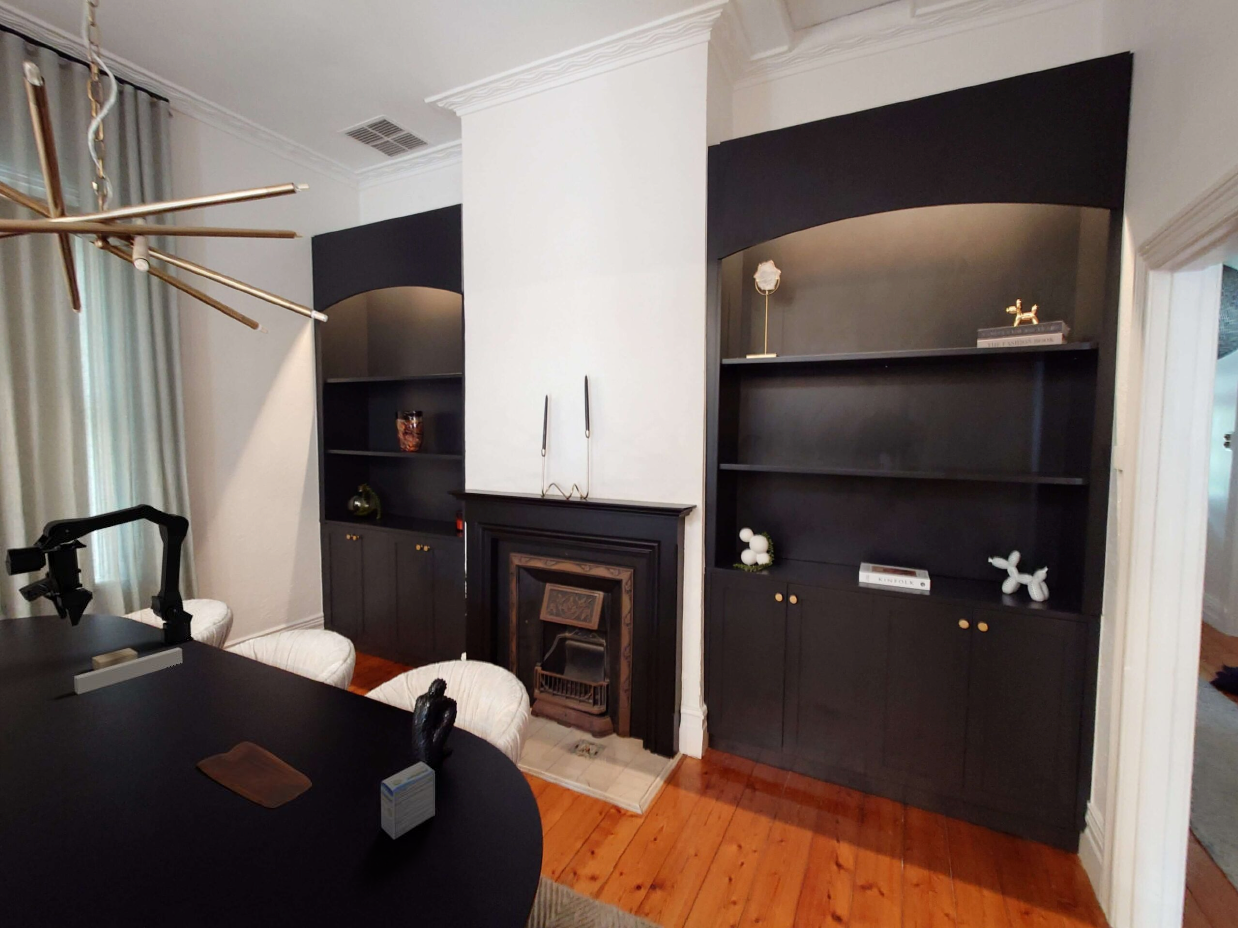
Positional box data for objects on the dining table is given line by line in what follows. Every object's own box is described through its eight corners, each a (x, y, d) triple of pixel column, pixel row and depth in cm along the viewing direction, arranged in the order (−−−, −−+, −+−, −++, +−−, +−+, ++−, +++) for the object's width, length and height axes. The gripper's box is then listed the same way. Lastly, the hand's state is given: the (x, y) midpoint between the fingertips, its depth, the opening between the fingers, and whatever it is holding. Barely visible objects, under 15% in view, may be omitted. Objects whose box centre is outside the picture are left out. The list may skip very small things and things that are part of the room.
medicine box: (422, 804, 103) (421, 759, 102) (435, 815, 100) (435, 769, 99) (380, 828, 97) (379, 780, 96) (394, 841, 94) (393, 791, 93)
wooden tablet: (193, 769, 113) (192, 761, 112) (246, 744, 121) (246, 737, 121) (266, 817, 99) (265, 808, 99) (320, 786, 108) (320, 777, 108)
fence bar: (178, 660, 160) (178, 647, 160) (182, 662, 159) (181, 649, 159) (75, 691, 142) (74, 676, 141) (78, 694, 140) (77, 678, 140)
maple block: (129, 659, 161) (129, 647, 161) (137, 664, 158) (137, 652, 158) (93, 669, 155) (92, 657, 154) (100, 675, 151) (100, 662, 151)
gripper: (10, 568, 150) (16, 624, 151) (32, 579, 140) (38, 639, 142) (67, 559, 159) (72, 612, 161) (91, 569, 149) (96, 625, 151)
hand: (68, 622), depth 153 cm, fingers open, 9 cm apart
